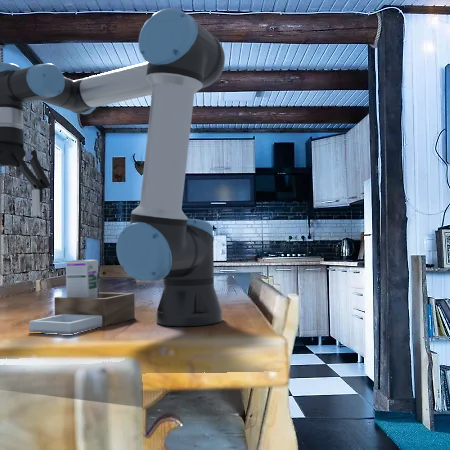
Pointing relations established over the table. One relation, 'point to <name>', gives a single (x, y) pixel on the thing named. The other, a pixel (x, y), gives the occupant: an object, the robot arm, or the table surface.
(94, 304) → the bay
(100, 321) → the tray
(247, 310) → the table surface
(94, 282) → the syrup box
